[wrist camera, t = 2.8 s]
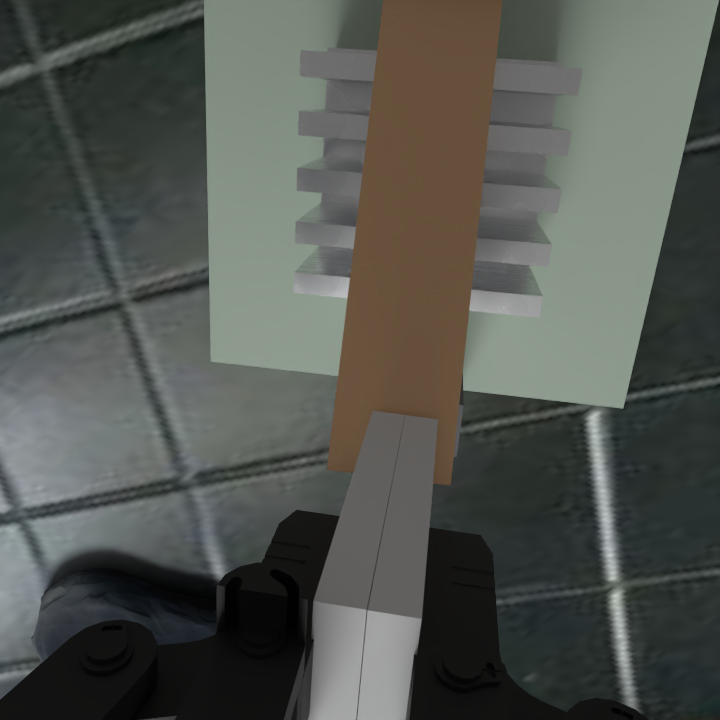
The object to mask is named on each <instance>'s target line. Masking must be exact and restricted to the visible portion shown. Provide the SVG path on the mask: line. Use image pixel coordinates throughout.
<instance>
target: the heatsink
mask: <svg viewBox="0 0 720 720" xmlns="http://www.w3.org/2000/svg"><path fill="white" fill-rule="evenodd" d="M376 56H377V51H375V50H359V49H343V48H328V52H322V51H306V50H301V53H300V76H301V77H308V78H315V79H322V80H326V99H325V109H316V110H302V111H299V122H298V135H300V136H313V137H324V146H323V157H321V158H319V159H316V160H314V161H312V162H309V163H307V164H305V165H302V166H300V167H298V168H297V191H304V192H315V193H321V203H319V204H318V205H317V206H315V207H314V208H313V209H311V210H310V211H309V212H307V213H306V214H305V215H303V216H302V217H301V218H299V219H298V220H297V221H296V225H295V243H297V244H308V245H318V247H317V248H316V250H315V251H314V252H313V253H312V254H311V255H310V256H309V257H308V258H307V259H306V260H305V261H304V262H303V263H302V264H301V265H300V266H299V268H298V269H297V270H296V271H295V272H294V293H301V294H310V295H320V296H330V297H340V298H348V290H349V281H350V273H351V265H352V256H353V248H354V240H355V231H356V223H357V215H358V206H359V198H360V190H361V181H362V173H363V165H364V156H365V148H366V139H367V131H368V123H369V114H370V106H371V98H372V89H373V81H374V73H375V64H376ZM582 69H583V68H572V67H562V62H548V61H532V60H517V59H501V58H496V66H495V75H494V85H493V94H492V103H491V113H490V122H489V131H488V140H487V150H486V159H485V168H484V178H483V187H482V196H481V206H480V215H479V224H478V234H477V243H476V252H475V262H474V271H473V280H472V290H471V299H470V308H469V311H478V312H487V313H497V314H507V315H517V316H527V317H537V318H540V312H541V306H542V301H543V295H542V293H541V291H540V288H539V286H538V284H537V281H536V279H535V277H534V274H533V272H532V270H531V268H530V265H531V266H542V267H548V266H549V260H550V254H551V249H552V244H551V242H550V241H549V239H548V238H547V236H546V234H545V233H544V231H543V230H542V228H541V227H540V225H539V224H538V222H537V216H538V212H548V213H558V208H559V202H560V197H561V191H562V189H561V188H559V187H558V186H557V185H556V184H555V183H554V182H552V181H551V180H550V179H549V178H548V177H547V176H545V175H544V173H545V167H546V161H547V155H559V156H568V150H569V145H570V139H571V133H572V131H571V130H567V129H564V128H560V127H556V126H552V124H553V118H554V111H555V105H556V99H557V96H571V95H578V92H579V87H580V81H581V75H582Z"/></svg>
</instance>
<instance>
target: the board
mask: <svg viewBox="0 0 720 720" xmlns="http://www.w3.org/2000/svg"><path fill="white" fill-rule="evenodd" d="M718 1H719V0H503V1H502V10H501V19H500V29H499V38H498V47H497V57H496V58H501V59H517V60H532V61H548V62H562V67H572V68H583V69H582V75H581V81H580V87H579V92H578V95H571V96H557V99H556V105H555V111H554V118H553V124H552V126H556V127H560V128H564V129H567V130H571V131H572V133H571V139H570V145H569V150H568V156H559V155H547V161H546V167H545V173H544V175H545V176H547V177H548V178H549V179H550V180H551V181H552V182H554V183H555V184H556V185H557V186H558V187H559V188H561V189H562V191H561V197H560V202H559V208H558V213H548V212H538V216H537V222H538V224H539V225H540V227H541V228H542V230H543V231H544V233H545V234H546V236H547V238H548V239H549V241H550V242H551V244H552V249H551V254H550V260H549V266H548V267H542V266H531V265H530V268H531V270H532V272H533V274H534V277H535V279H536V281H537V284H538V286H539V288H540V291H541V293H542V295H543V301H542V306H541V312H540V318H537V317H527V316H517V315H507V314H497V313H487V312H478V311H469V318H468V327H467V336H466V346H465V355H464V364H463V373H462V383H461V392H460V401H459V411H458V420H457V429H456V439H455V448H454V456H455V457H457V450H458V442H459V435H460V428H461V420H462V413H463V406H464V404H463V390H466V391H475V392H484V393H493V394H501V395H510V396H519V397H528V398H537V399H545V400H554V401H563V402H572V403H581V404H589V405H598V406H607V407H616V408H623V407H624V403H625V398H626V394H627V390H628V386H629V381H630V377H631V373H632V369H633V364H634V360H635V356H636V352H637V347H638V343H639V339H640V334H641V330H642V326H643V322H644V317H645V313H646V309H647V305H648V300H649V296H650V292H651V287H652V283H653V279H654V275H655V270H656V266H657V262H658V258H659V253H660V249H661V245H662V241H663V236H664V232H665V228H666V223H667V219H668V215H669V211H670V206H671V202H672V198H673V194H674V189H675V185H676V181H677V176H678V172H679V168H680V164H681V159H682V155H683V151H684V147H685V142H686V138H687V134H688V130H689V125H690V121H691V117H692V112H693V108H694V104H695V100H696V95H697V91H698V87H699V83H700V78H701V74H702V70H703V65H704V61H705V57H706V53H707V48H708V44H709V40H710V36H711V31H712V27H713V23H714V18H715V14H716V10H717V6H718ZM382 6H383V0H204V25H205V78H206V130H207V182H208V234H209V287H210V339H211V362H220V363H229V364H238V365H246V366H255V367H264V368H273V369H282V370H290V371H299V372H308V373H317V374H326V375H334V376H338V373H339V365H340V356H341V348H342V340H343V331H344V323H345V315H346V306H347V298H340V297H330V296H320V295H310V294H301V293H294V272H295V271H296V270H297V269H298V268H299V266H300V265H301V264H302V263H303V262H304V261H305V260H306V259H307V258H308V257H309V256H310V255H311V254H312V253H313V252H314V251H315V250H316V248H317V247H318V245H308V244H297V243H295V225H296V221H297V220H298V219H299V218H301V217H302V216H303V215H305V214H306V213H307V212H309V211H310V210H311V209H313V208H314V207H315V206H317V205H318V204H319V203H321V193H315V192H304V191H297V168H298V167H300V166H302V165H305V164H307V163H309V162H312V161H314V160H316V159H319V158H321V157H323V146H324V137H313V136H300V135H298V122H299V111H302V110H316V109H325V99H326V80H322V79H315V78H308V77H301V76H300V53H301V50H306V51H322V52H328V48H343V49H359V50H375V51H377V48H378V39H379V31H380V23H381V14H382Z"/></svg>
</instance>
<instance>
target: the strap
mask: <svg viewBox="0 0 720 720" xmlns="http://www.w3.org/2000/svg"><path fill="white" fill-rule="evenodd" d="M502 1H503V0H383V6H382V14H381V23H380V31H379V39H378V48H377V56H376V64H375V73H374V81H373V89H372V98H371V106H370V114H369V123H368V131H367V139H366V148H365V156H364V165H363V173H362V181H361V190H360V198H359V206H358V215H357V223H356V231H355V240H354V248H353V256H352V265H351V273H350V281H349V290H348V298H347V306H346V315H345V323H344V331H343V340H342V348H341V356H340V365H339V373H338V381H337V390H336V398H335V406H334V415H333V423H332V431H331V440H330V448H329V456H328V465H327V470H333V471H341V472H349V473H353V472H354V469H355V466H356V463H357V459H358V456H359V453H360V450H361V447H362V443H363V440H364V437H365V434H366V430H367V427H368V424H369V421H370V418H371V414H372V411H379V412H386V413H394V414H402V415H409V416H417V417H425V418H433V419H438V428H437V440H436V452H435V464H434V477H433V483H435V484H442V485H451V476H452V467H453V457H454V448H455V439H456V429H457V420H458V411H459V401H460V392H461V383H462V373H463V364H464V355H465V346H466V336H467V327H468V318H469V308H470V299H471V290H472V280H473V271H474V262H475V252H476V243H477V234H478V224H479V215H480V206H481V196H482V187H483V178H484V168H485V159H486V150H487V140H488V131H489V122H490V113H491V103H492V94H493V85H494V75H495V66H496V57H497V47H498V38H499V29H500V19H501V10H502Z"/></svg>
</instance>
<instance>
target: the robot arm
mask: <svg viewBox="0 0 720 720" xmlns="http://www.w3.org/2000/svg"><path fill="white" fill-rule="evenodd" d="M437 428H438V419H433V418H425V417H417V416H409V415H402V414H394V413H386V412H379V411H372V414H371V418H370V421H369V424H368V427H367V430H366V434H365V437H364V440H363V443H362V447H361V450H360V453H359V456H358V459H357V463H356V466H355V469H354V472H353V475H352V479H351V482H350V485H349V488H348V492H347V495H346V498H345V501H344V504H343V508H342V511H341V514H340V516H334V515H327V514H321V513H314V512H307V511H300V510H296V511H295V512H293V513H292V514H291V515H290V516H288V517H287V518H286V519H284V520H283V521H282V522H281V523H279V525H278V528H277V530H276V532H275V534H274V536H273V539H272V541H271V544H270V545H269V547H268V550H267V552H266V554H265V558H264V559H263V561H262V563H253V564H249V565H245V566H240V567H238V568H236V569H235V570H233V571H231V572H229V573H227V574H226V575H225V576H224V577H223V578H222V579H221V581H220V582H219V583H218V584H217V632H216V634H215V635H213V636H210V637H207V638H204V639H202V640H198V641H192V642H186V643H176V644H165V645H157V641H156V639H155V637H154V635H153V634H152V632H151V630H149V629H148V628H146V627H145V626H143V625H142V624H140V623H137V622H132V621H127V620H112V621H103V622H100V623H98V624H95V625H92V626H89V627H86V628H84V629H83V630H81V631H80V632H78V633H77V634H75V635H74V636H72V637H71V638H69V639H68V640H67V641H66V642H65V643H64V644H63V645H62V646H60V647H59V648H58V649H57V650H56V651H55V652H54V653H53V654H51V655H50V656H49V657H48V658H47V659H46V660H45V661H43V662H42V663H41V664H40V665H39V666H38V667H37V668H36V669H34V670H33V671H32V672H31V673H30V674H29V675H28V676H27V677H25V678H24V679H23V680H22V681H21V682H20V683H19V684H18V685H16V686H15V687H14V688H13V689H12V690H11V691H10V692H8V693H7V694H6V695H5V696H4V697H3V698H2V699H1V700H0V720H648V719H647V718H646V717H644V716H643V715H642V714H640V713H639V712H638V711H636V710H635V709H633V708H631V707H628V706H626V705H624V704H621V703H619V702H617V701H613V700H606V699H598V698H594V699H589V700H584V701H579V702H578V703H577V704H576V705H574V706H573V707H572V708H571V709H570V710H568V713H567V712H565V711H563V710H560V709H558V708H556V707H554V706H551V705H549V704H547V703H545V702H542V701H541V700H539V699H537V698H535V697H533V696H531V695H530V694H528V693H527V692H526V691H524V690H523V689H522V688H521V687H519V686H518V685H517V684H516V683H515V682H514V681H513V679H512V678H511V677H510V676H509V675H508V674H507V671H506V668H505V665H504V664H503V663H502V662H501V657H500V653H499V639H498V624H497V610H496V595H495V580H494V565H493V553H492V552H491V550H490V549H489V547H488V546H487V544H486V543H485V541H484V540H483V538H482V537H481V535H476V534H469V533H463V532H456V531H449V530H442V529H435V528H429V525H430V513H431V501H432V489H433V477H434V464H435V452H436V440H437Z"/></svg>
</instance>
